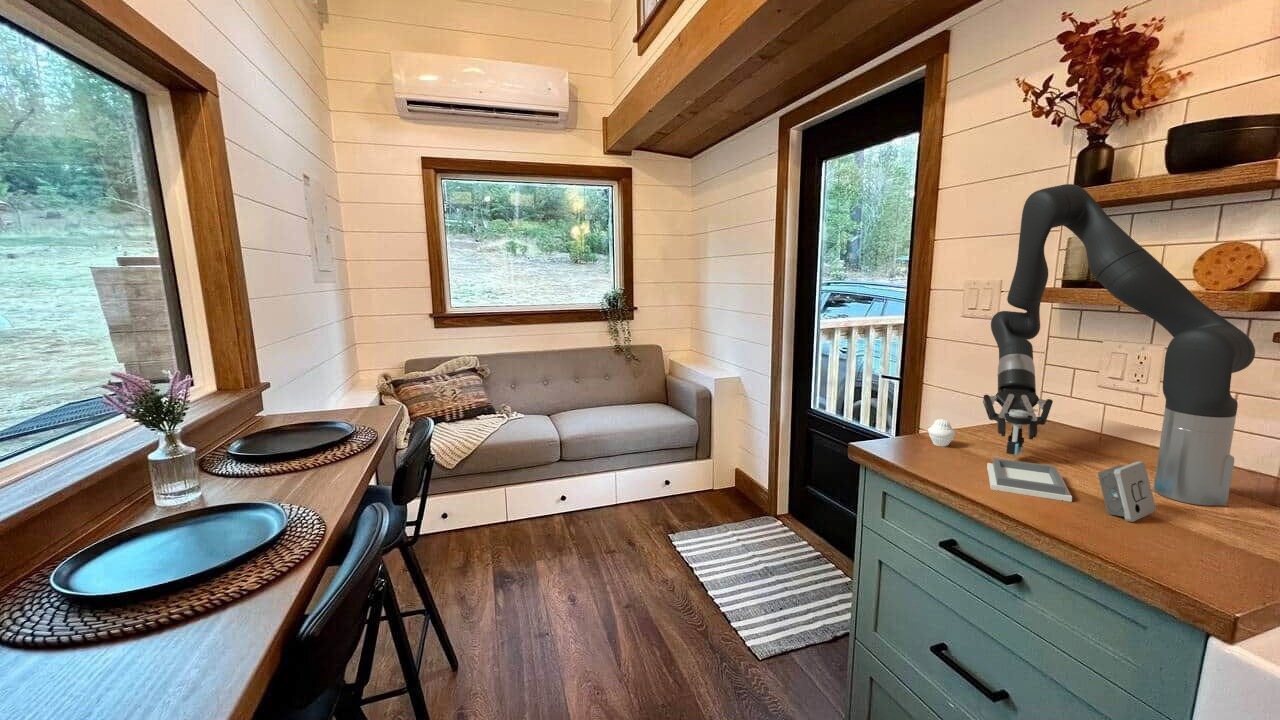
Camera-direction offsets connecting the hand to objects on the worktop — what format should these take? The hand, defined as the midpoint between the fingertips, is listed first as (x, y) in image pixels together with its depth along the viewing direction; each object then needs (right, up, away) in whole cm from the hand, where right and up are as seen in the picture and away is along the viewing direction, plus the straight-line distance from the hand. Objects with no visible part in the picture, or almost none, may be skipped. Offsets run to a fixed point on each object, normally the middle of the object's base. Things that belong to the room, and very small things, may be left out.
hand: (1017, 436), depth 119 cm
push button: (+1, -4, +2) cm, 5 cm away
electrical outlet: (+2, -11, -24) cm, 27 cm away
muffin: (-9, -5, +15) cm, 18 cm away
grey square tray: (-6, -8, -10) cm, 15 cm away
